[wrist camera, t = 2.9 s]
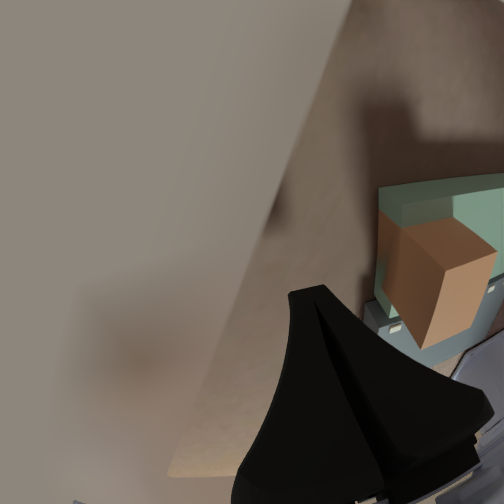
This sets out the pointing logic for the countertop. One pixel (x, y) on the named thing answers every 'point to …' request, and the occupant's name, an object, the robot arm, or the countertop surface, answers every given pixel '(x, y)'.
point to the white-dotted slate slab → (439, 352)
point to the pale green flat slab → (439, 252)
